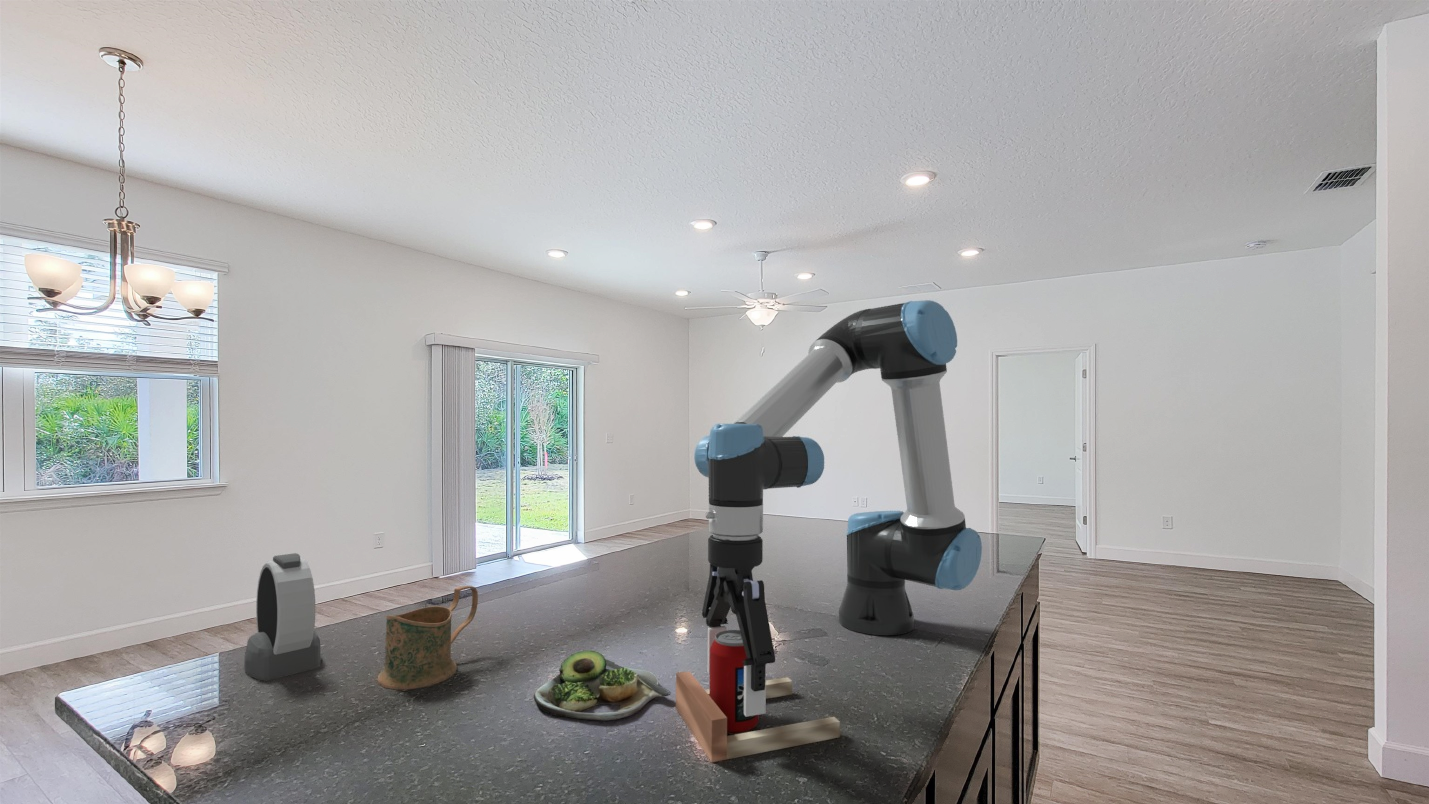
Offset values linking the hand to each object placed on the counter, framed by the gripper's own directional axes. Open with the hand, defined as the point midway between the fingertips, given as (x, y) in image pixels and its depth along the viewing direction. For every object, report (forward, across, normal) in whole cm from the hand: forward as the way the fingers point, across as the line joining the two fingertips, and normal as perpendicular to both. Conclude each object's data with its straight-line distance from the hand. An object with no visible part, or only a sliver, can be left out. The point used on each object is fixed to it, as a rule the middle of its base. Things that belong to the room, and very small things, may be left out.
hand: (734, 691), depth 83 cm
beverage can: (+5, 0, 0) cm, 5 cm away
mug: (+5, -35, -40) cm, 53 cm away
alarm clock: (+5, -45, -64) cm, 78 cm away
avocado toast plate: (+5, -16, -16) cm, 23 cm away
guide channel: (+4, 0, +3) cm, 5 cm away
